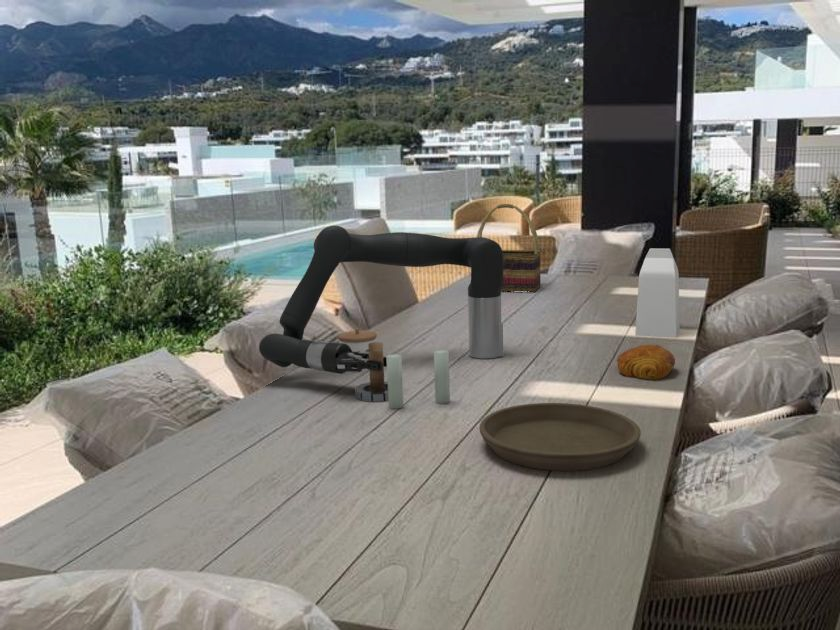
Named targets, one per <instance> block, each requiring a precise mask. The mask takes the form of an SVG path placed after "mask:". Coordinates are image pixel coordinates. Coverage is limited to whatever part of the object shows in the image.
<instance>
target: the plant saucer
mask: <svg viewBox="0 0 840 630" xmlns="http://www.w3.org/2000/svg"><path fill="white" fill-rule="evenodd" d="M478 428H479V430H478V431H479V433H480V435H481V437H482V439H483V441H484V443H486V444H487V445H488V446H489V447H490V448H491V450H492V451H493V452H494V453H495V454H496V455H497V456H499V457H500V458H501V459H503V460H506V461H508V462H510V463H512V464H516V465H519V466H522V467H526V468H530V469H538V470H545V471H558V472H562V471H563V472H567V471H568V472H569V471H571V472H572V471H573V472H574V471H585V470H592V469H598V468H602V467H605V466H609V465H612V464H614V463H616V462H618V461H620V460H621V459H623V458H624V457H625V455H626V454H627V453H628V452H630V451H631V450H632V449H633V448H635V446H636V444H637V443H638V442H639V439H640V438H641V434H642V433H641V428H640V426H639V425H638V424H637V423H636V422H635V421H634V420H632V419H631V418H629V417H628V416H626V415H623V414H621V413H618V412H615V411H612V410H609V409H606V408H601V407H597V406H592V405H584V404H579V403H578V404H577V403H569V402H567V403H565V402H539V403H538V402H537V403H526V404H525V403H524V404H518V405H512V406H509V407H504V408H501V409H498V410H496V411H494V412H492V413H490V414H488V415H487V416H485V417H484V418H483V419H482V421H481V422H480V424H479V427H478Z"/></svg>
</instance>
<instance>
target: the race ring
mask: <svg viewBox="0 0 840 630" xmlns="http://www.w3.org/2000/svg"><path fill="white" fill-rule="evenodd" d="M384 388H385V391H383V392H371V390H370V381H369V382H365V383H362V384H359V385H356V386H355V387H354V396H355V397H354V398H355V399H357V400H359V401H362V402H371V403H372V402H373V403H377V402H378V403H379V402H387V401H388V381H386V380H384Z"/></svg>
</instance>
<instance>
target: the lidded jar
mask: <svg viewBox="0 0 840 630" xmlns="http://www.w3.org/2000/svg"><path fill="white" fill-rule="evenodd" d="M377 335H378V334H377V333H376V332H375V331H372V330H371V331H370V330H360V328H355V330H350V331H345V332H342V333H339V334H338V336H337V338H338V343H343V344H347V345H348V346H349V347H350V349H351V350H352V351H360V352H366V350H368V349H369V345H368V344H369V343H373V342H377Z"/></svg>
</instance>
